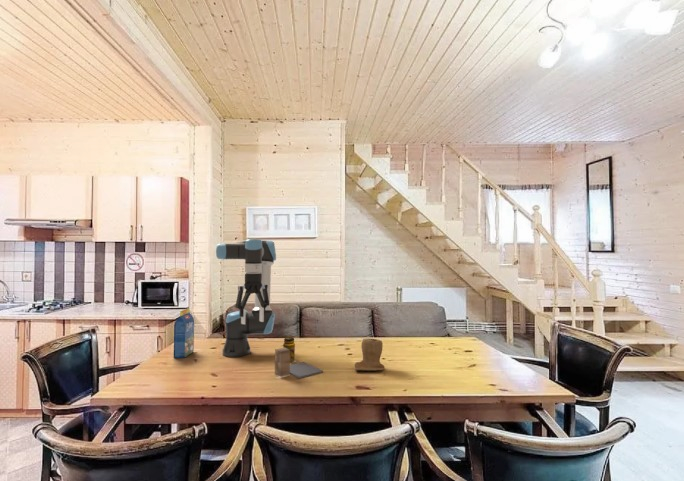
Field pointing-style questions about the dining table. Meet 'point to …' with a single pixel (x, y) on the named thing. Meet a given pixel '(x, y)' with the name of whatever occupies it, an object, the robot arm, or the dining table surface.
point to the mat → (303, 370)
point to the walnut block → (282, 362)
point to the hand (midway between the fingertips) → (252, 322)
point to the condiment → (290, 347)
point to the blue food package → (184, 335)
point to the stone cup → (370, 355)
